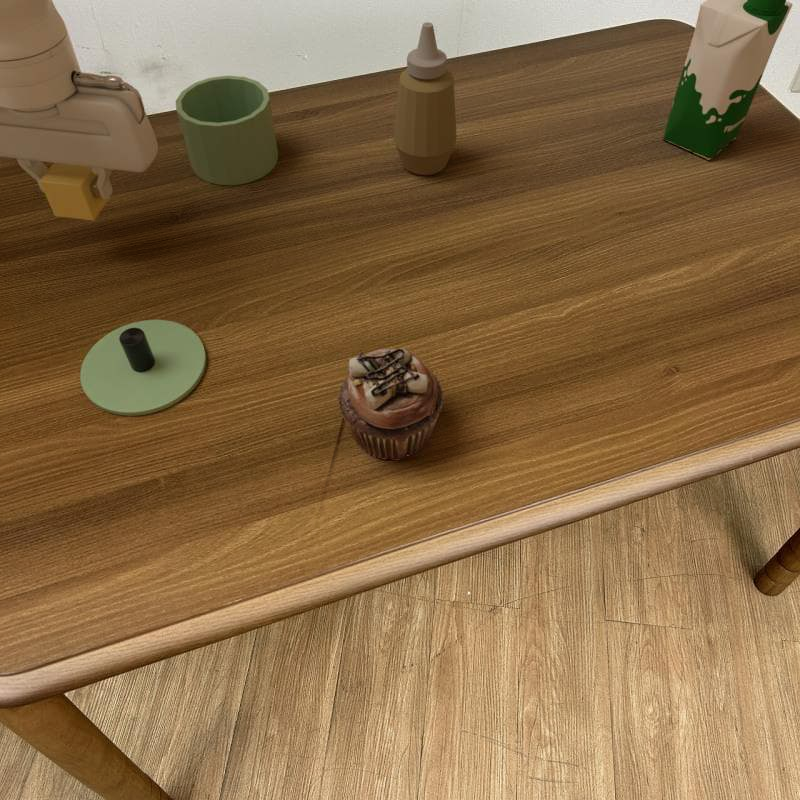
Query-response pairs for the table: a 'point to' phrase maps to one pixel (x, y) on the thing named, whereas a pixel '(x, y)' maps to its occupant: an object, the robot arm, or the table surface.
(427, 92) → the squeeze bottle
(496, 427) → the table surface
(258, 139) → the tin
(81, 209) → the block
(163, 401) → the lid
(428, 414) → the cupcake
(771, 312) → the table surface
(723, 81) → the milk carton
